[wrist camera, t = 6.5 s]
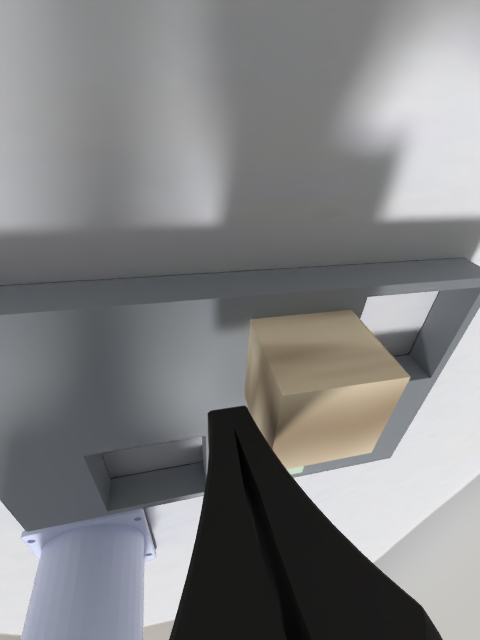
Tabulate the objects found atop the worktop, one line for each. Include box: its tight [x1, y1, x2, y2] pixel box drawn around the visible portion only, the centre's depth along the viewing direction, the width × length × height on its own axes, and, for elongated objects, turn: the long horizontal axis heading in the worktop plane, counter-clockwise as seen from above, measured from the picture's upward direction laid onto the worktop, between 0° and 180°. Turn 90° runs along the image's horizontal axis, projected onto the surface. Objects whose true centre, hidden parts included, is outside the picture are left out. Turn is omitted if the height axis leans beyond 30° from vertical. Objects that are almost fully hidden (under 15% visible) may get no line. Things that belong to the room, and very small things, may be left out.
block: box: [244, 310, 410, 469], centre depth 13 cm, size 4×4×4 cm
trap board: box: [0, 258, 480, 532], centre depth 17 cm, size 15×24×2 cm, turn 87°
